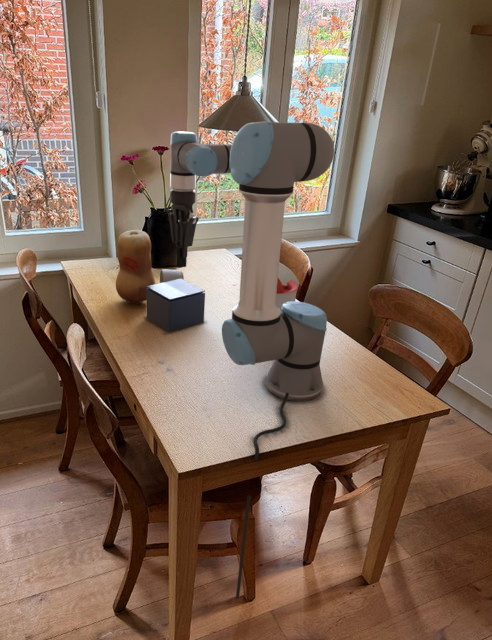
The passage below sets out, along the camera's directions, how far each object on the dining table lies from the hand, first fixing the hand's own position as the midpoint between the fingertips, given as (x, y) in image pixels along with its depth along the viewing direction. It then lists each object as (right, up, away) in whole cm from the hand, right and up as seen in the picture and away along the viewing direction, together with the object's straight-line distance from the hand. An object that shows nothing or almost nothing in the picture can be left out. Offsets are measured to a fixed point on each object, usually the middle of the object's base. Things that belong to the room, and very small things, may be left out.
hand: (181, 266), depth 168 cm
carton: (-3, -16, +8) cm, 18 cm away
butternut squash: (-17, -9, +20) cm, 28 cm away
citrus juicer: (+28, -21, +4) cm, 35 cm away
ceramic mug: (-7, -2, +33) cm, 34 cm away
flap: (+1, -6, +5) cm, 8 cm away
